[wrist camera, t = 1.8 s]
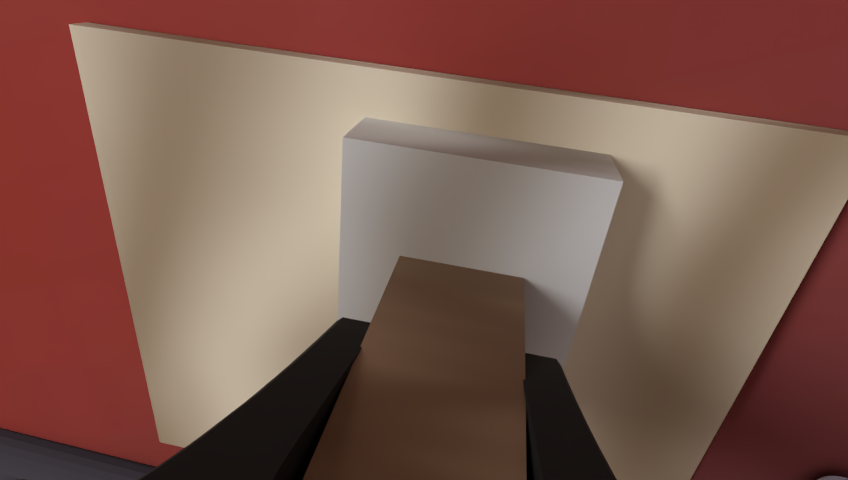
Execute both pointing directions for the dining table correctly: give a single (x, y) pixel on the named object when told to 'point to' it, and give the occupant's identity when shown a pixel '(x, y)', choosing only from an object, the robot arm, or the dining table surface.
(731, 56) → the dining table surface
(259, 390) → the robot arm
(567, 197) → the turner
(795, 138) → the board
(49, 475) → the bracket
